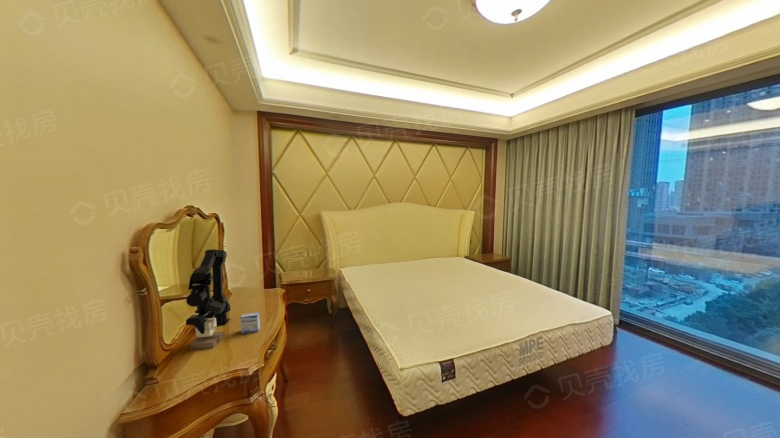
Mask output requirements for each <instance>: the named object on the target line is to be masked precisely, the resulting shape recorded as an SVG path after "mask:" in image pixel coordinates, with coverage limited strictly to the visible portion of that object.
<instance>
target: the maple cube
mask: <svg viewBox="0 0 780 438" xmlns="http://www.w3.org/2000/svg"><path fill="white" fill-rule="evenodd" d="M205 319H208V320H207V321H206V322H205V331H204V334H201V333H200V332H199V331H198V329H197V328H196V327H195V326H194V327H195V337H196V338H197V337H207V336H211V335H212V334H213V333H214V332H217V330H218V327H217V326H218V325H217V324H216V318H215V317H214V318H205Z"/></svg>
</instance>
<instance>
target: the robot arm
mask: <svg viewBox="0 0 780 438" xmlns="http://www.w3.org/2000/svg"><path fill="white" fill-rule="evenodd" d="M227 256H228V255H227V252H226V251H225V250H224V249H215V248H211V249H207V250H205V252H204V256H203V258H202V261H201V263H200V264H199V267H198V268H195V269H194V270H193V272H192V273H191V275H190V276H189V283H188V288H187V290H188V291H189V290H191V291H190V294H189V295H188V296H187V297H186V300H185V302H186V304H187V305H188V306H189V307H196V309H195V310H194V313H195V314H192V315H190V316H189V317H188V318H187V319H186V320H185V325H186V326H194V327H196V328H197V329H198V331H199V332H200V333H201V334H204V331H205V322H206V321H207V320H208V319H205V318H216V324H217V326H225V325H226V324H228V322H229V321H230V320H231V318H228V313H229V312H230V311H232V310H231V304H230V303H229V301H228V298H227V296H226V295H225V294H224V281H223V280H224V279H223V278H224V276H223V275H224V273H223V266H224V264H225V263H226V259H227ZM211 270H212V272H211ZM211 285H212V296H211V287H210V286H211Z"/></svg>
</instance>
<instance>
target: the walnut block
mask: <svg viewBox="0 0 780 438" xmlns="http://www.w3.org/2000/svg"><path fill="white" fill-rule="evenodd" d="M223 338H225V331H215V332H214V333H213V334H212V335H211V336H207V337H196V338H195V339H194V340H193V341H192V342H191V343H189V350H190V351H194V350H205V349H207V350H208V349H214V348H216V346H217V345H218V344H219V343H221V341H222V340H223Z"/></svg>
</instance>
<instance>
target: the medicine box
mask: <svg viewBox="0 0 780 438" xmlns="http://www.w3.org/2000/svg"><path fill="white" fill-rule="evenodd" d="M260 329H261V321H260V312H259V311H257V312H250V313H242V314H241V316H240V331H241V334H242V335H244V334H250V333H257V332H259V331H260Z"/></svg>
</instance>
